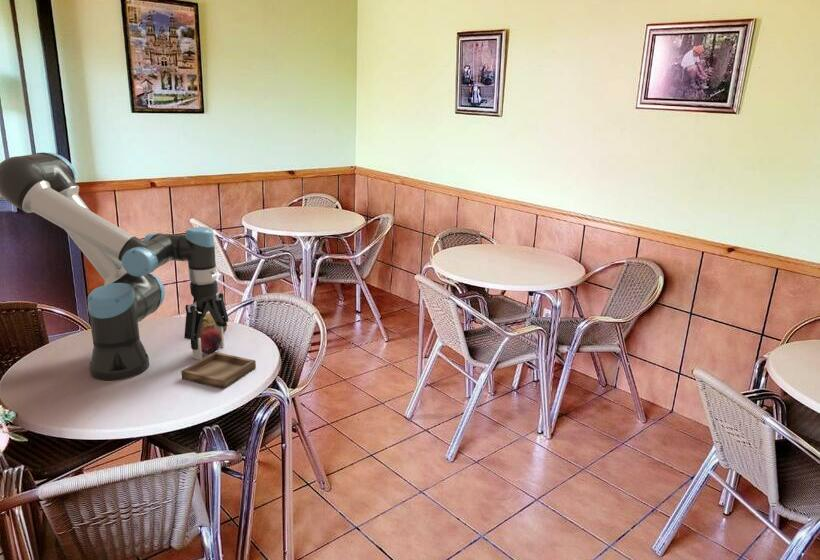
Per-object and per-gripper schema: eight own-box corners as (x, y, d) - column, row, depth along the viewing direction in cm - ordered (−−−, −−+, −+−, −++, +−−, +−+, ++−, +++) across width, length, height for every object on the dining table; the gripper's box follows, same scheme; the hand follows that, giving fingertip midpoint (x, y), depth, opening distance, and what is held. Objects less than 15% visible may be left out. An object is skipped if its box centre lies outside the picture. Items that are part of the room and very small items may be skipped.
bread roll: (201, 336, 201) (189, 317, 198) (229, 322, 203) (217, 302, 200) (201, 348, 192) (187, 328, 189) (230, 332, 194) (217, 312, 191)
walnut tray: (181, 379, 163) (181, 370, 163) (215, 359, 176) (215, 351, 175) (224, 389, 158) (223, 380, 158) (255, 368, 171) (255, 360, 170)
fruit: (207, 346, 185) (205, 321, 183) (227, 350, 182) (226, 326, 180) (189, 355, 178) (187, 330, 176) (210, 360, 175) (208, 334, 173)
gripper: (187, 293, 162) (193, 369, 169) (238, 272, 182) (242, 341, 189) (165, 289, 165) (172, 364, 172) (217, 269, 185) (222, 337, 191)
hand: (209, 352), depth 180 cm, fingers open, 9 cm apart
